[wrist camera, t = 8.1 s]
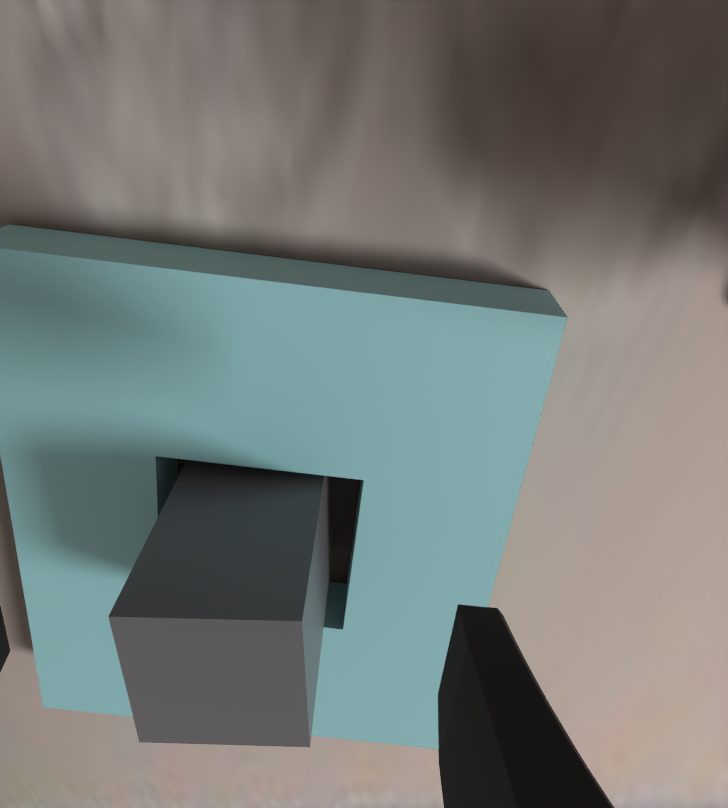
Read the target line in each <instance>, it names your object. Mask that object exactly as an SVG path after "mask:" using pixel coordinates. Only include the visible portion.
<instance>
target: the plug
mask: <svg viewBox="0 0 728 808" xmlns="http://www.w3.org/2000/svg"><path fill="white" fill-rule="evenodd" d="M332 548H333V547H332V515H331V482H330V476H323V475H315V474H306V473H297V472H289V471H280V470H271V469H263V468H254V467H245V466H237V465H228V464H219V463H211V462H202V461H193V460H186V462H185V464H184V466H183V468H182V470H181V472H180V474H179V476H178V478H177V480H176V482H175V484H174V486H173V488H172V490H171V492H170V494H169V496H168V498H167V500H166V502H165V504H164V506H163V508H162V510H161V512H160V514H159V516H158V518H157V520H156V522H155V524H154V526H153V528H152V530H151V532H150V534H149V536H148V538H147V540H146V542H145V544H144V546H143V548H142V550H141V552H140V554H139V556H138V558H137V560H136V562H135V564H134V566H133V568H132V570H131V572H130V574H129V576H128V578H127V580H126V582H125V584H124V586H123V588H122V590H121V592H120V594H119V596H118V598H117V600H116V602H115V604H114V606H113V608H112V610H111V612H110V614H109V616H108V618H109V622H110V626H111V630H112V634H113V638H114V642H115V646H116V650H117V654H118V658H119V662H120V666H121V670H122V674H123V678H124V682H125V686H126V690H127V694H128V698H129V702H130V706H131V710H132V714H133V718H134V722H135V726H136V730H137V734H138V738H139V742H153V743H187V744H221V745H255V746H289V747H310V742H311V733H312V724H313V716H314V707H315V698H316V689H317V680H318V672H319V663H320V654H321V645H322V636H323V628H324V619H325V610H326V601H327V592H328V584H329V575H330V566H331V557H332Z"/></svg>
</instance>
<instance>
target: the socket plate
mask: <svg viewBox="0 0 728 808" xmlns="http://www.w3.org/2000/svg"><path fill="white" fill-rule="evenodd" d="M567 318H568V317H567V316H566V314H565V313H564V311H563V310H562V309H561V307H560V306H559V304H558V303H557V301H556V300H555V298H554V297H553V295H552V294H551V292H550V291H548V290H540V289H532V288H524V287H515V286H507V285H499V284H491V283H483V282H475V281H467V280H458V279H450V278H442V277H434V276H426V275H418V274H410V273H401V272H393V271H385V270H377V269H369V268H361V267H353V266H344V265H336V264H328V263H320V262H312V261H304V260H296V259H287V258H279V257H271V256H263V255H255V254H247V253H239V252H230V251H222V250H214V249H206V248H198V247H190V246H182V245H173V244H165V243H157V242H149V241H141V240H133V239H125V238H117V237H108V236H100V235H92V234H84V233H76V232H68V231H60V230H51V229H43V228H35V227H27V226H19V225H11V224H8V225H6V226H4V227H2V228H0V457H1V463H2V469H3V474H4V480H5V486H6V492H7V498H8V504H9V510H10V516H11V521H12V527H13V533H14V539H15V545H16V551H17V557H18V562H19V568H20V574H21V580H22V586H23V592H24V598H25V604H26V609H27V615H28V621H29V627H30V633H31V639H32V645H33V650H34V656H35V662H36V668H37V674H38V680H39V686H40V692H41V697H42V703H43V707H46V708H55V709H65V710H74V711H83V712H93V713H102V714H112V715H121V716H131V717H133V714H132V710H131V706H130V702H129V698H128V694H127V690H126V686H125V682H124V678H123V674H122V670H121V666H120V662H119V658H118V654H117V650H116V646H115V642H114V638H113V634H112V630H111V626H110V622H109V618H108V616H109V614H110V612H111V610H112V608H113V606H114V604H115V602H116V600H117V598H118V596H119V594H120V592H121V590H122V588H123V586H124V584H125V582H126V580H127V578H128V576H129V574H130V572H131V570H132V568H133V566H134V564H135V562H136V560H137V558H138V556H139V554H140V552H141V550H142V548H143V546H144V544H145V542H146V540H147V538H148V536H149V534H150V532H151V530H152V528H153V526H154V524H155V522H156V520H157V518H158V516H159V514H160V512H161V510H162V508H163V506H164V504H165V502H166V500H167V498H168V496H169V494H170V492H171V490H172V488H173V486H174V484H175V482H176V480H177V478H178V459H185V460H193V461H202V462H211V463H219V464H228V465H237V466H245V467H254V468H263V469H271V470H280V471H289V472H297V473H306V474H315V475H323V476H332V477H341V478H349V479H358V480H361V483H360V490H359V497H358V505H357V512H356V519H355V527H354V534H353V541H352V549H351V556H350V563H349V571H348V578H347V584H345V583H337V582H329V584H328V592H327V601H326V610H325V619H324V628H323V636H322V645H321V654H320V663H319V672H318V680H317V689H316V698H315V707H314V716H313V724H312V733H311V736H320V737H329V738H338V739H348V740H357V741H367V742H376V743H386V744H395V745H404V746H414V747H423V748H433V749H439V742H438V691H439V686H440V682H441V678H442V673H443V669H444V664H445V660H446V655H447V651H448V646H449V642H450V637H451V633H452V629H453V624H454V620H455V615H456V611H457V606H458V604H460V605H470V606H480V607H488V605H489V601H490V597H491V594H492V590H493V586H494V583H495V579H496V576H497V572H498V568H499V565H500V561H501V557H502V554H503V550H504V547H505V543H506V539H507V536H508V532H509V528H510V525H511V521H512V517H513V514H514V510H515V507H516V503H517V499H518V496H519V492H520V488H521V485H522V481H523V478H524V474H525V470H526V467H527V463H528V459H529V456H530V452H531V449H532V445H533V441H534V438H535V434H536V430H537V427H538V423H539V420H540V416H541V412H542V409H543V405H544V401H545V398H546V394H547V391H548V387H549V383H550V380H551V376H552V372H553V369H554V365H555V362H556V358H557V354H558V351H559V347H560V343H561V340H562V336H563V333H564V329H565V325H566V322H567Z"/></svg>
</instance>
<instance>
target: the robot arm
mask: <svg viewBox="0 0 728 808" xmlns="http://www.w3.org/2000/svg"><path fill="white" fill-rule="evenodd" d="M9 652H10V648H9V643H8V639H7V634H6V630H5V625H4V620H3V616H2V611H1V607H0V672H1V670H2V667H3V665H4V663H5V661H6V659H7V657H8V654H9ZM438 742H439V767H440V776H441V784H442V793H443V801H444V808H614V807H613V805H612V804H611V802H610V801H609V799H608V798H607V796H606V795H605V793H604V792H603V790H602V789H601V787H600V786H599V784H598V782H597V781H596V779H595V778H594V776H593V775H592V773H591V772H590V770H589V769H588V767H587V765H586V764H585V762H584V761H583V759H582V758H581V756H580V754H579V753H578V751H577V750H576V748H575V746H574V745H573V743H572V741H571V740H570V738H569V736H568V734H567V733H566V731H565V729H564V728H563V726H562V724H561V723H560V721H559V719H558V718H557V716H556V714H555V713H554V711H553V709H552V708H551V706H550V704H549V702H548V701H547V699H546V697H545V695H544V694H543V692H542V690H541V688H540V686H539V685H538V683H537V681H536V679H535V677H534V675H533V673H532V672H531V670H530V668H529V666H528V664H527V662H526V660H525V658H524V657H523V655H522V653H521V651H520V649H519V647H518V645H517V643H516V641H515V639H514V637H513V635H512V633H511V631H510V629H509V627H508V625H507V623H506V620H505V618H504V616H503V614H502V613H501V612H500V611H499V610H498V608H489V607H480V606H470V605H460V604H458V606H457V611H456V615H455V620H454V624H453V629H452V633H451V637H450V642H449V646H448V651H447V655H446V660H445V664H444V669H443V673H442V678H441V682H440V686H439V691H438Z"/></svg>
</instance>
